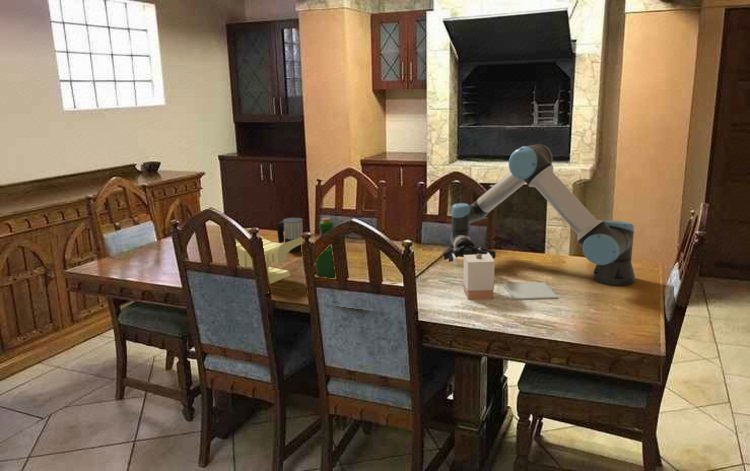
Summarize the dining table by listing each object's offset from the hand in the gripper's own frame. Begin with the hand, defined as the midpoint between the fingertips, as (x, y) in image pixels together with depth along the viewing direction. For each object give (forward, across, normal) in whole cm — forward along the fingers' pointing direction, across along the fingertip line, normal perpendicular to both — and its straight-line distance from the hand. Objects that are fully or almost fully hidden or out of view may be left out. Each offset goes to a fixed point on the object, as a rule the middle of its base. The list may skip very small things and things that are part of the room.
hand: (473, 261), depth 228 cm
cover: (+10, 0, -8) cm, 12 cm away
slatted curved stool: (-18, +82, -10) cm, 84 cm away
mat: (+8, -20, -10) cm, 23 cm away
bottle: (-1, +55, -10) cm, 56 cm away
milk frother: (-58, +78, -10) cm, 97 cm away
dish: (+10, 0, -10) cm, 14 cm away
